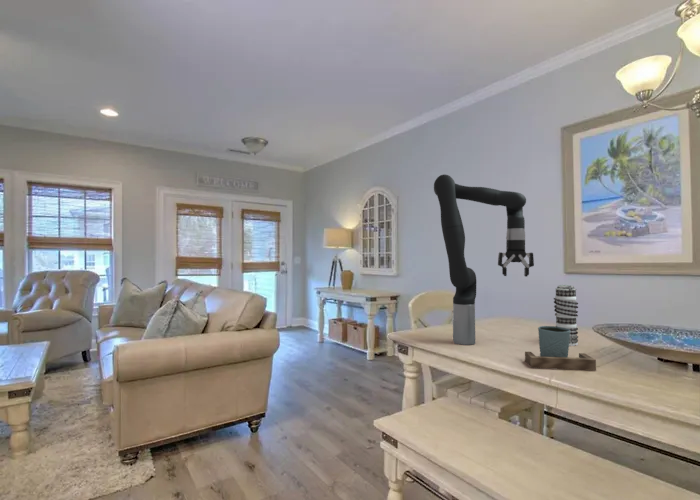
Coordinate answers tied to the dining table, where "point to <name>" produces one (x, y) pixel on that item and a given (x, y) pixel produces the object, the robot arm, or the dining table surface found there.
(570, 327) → the decorative candle
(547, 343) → the teal cup
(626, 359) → the dining table surface
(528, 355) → the walnut rail
